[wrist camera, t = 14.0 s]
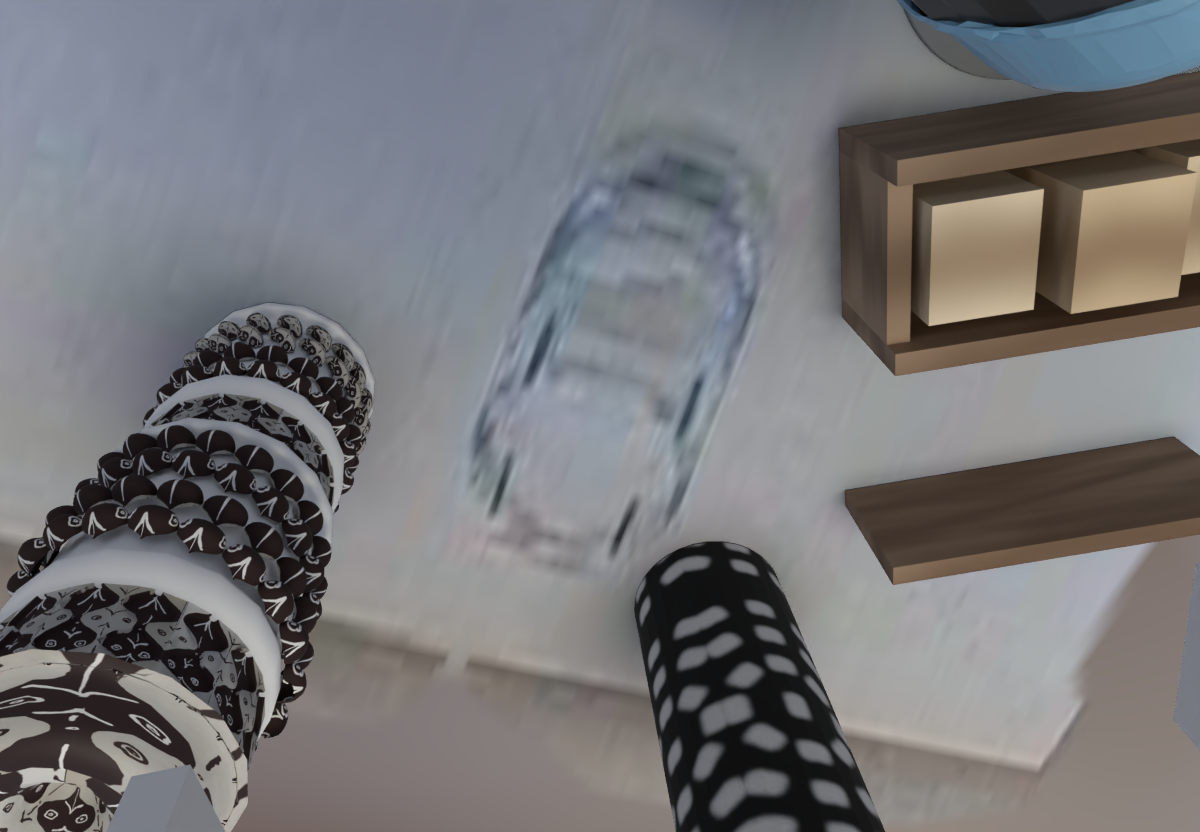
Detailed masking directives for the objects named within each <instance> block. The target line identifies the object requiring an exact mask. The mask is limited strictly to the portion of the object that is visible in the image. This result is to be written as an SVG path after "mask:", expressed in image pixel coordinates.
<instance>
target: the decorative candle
mask: <svg viewBox="0 0 1200 832" xmlns="http://www.w3.org/2000/svg"><path fill="white" fill-rule="evenodd" d="M195 348H196V350H197V351H192V352H189V353H187V354H186V355H185V357H184V363H185V364H184V366H183V368H180V369H177V370H176V371H175V372H173V373H172V375H171V377H170V383H168V384H166V385H164V386H163V387H161V388H160V389H159V390H158V392H157V400H158V402H157V407H154V408H152V409H151V410H149V411H148V412H147V413H146V415H145V417H144V420H143V425H144V428H143V430H142V431H140V432H139V433H136V434H132V435H130V436H129V437H128V438H127V439H126V441H125V442H124V445H122V446H121V447H120V448H119V449H117V450H116V451H115V452H111V453H108V454H105V455H104V456H102V457H101V458H100V459H99V460H98V463H97V468H98V479H96V478H91V479H86V480H83V481H81V482H80V483H79V484H78V485H77V487H76V490H75V497H74V501H73V506H68V505H67V506H60V507H57V508H55V509H53V510H51V511H50V512H49V513H48V515H47V517H46V527H45V529H44V532H43V537H42V538H33V539H30V540H27V541H26V542H24V543H23V544H22V546H21V548H20V549H19V552H18V563H19V566H20V568H21V569H22V570H20V571H18V572H16V573H15V574H14V575H13V576H12V577H11V578H10V579H9V581H8V584H7V589H8V592H9V594H10V596H11V598H10V599H9V601H8V602H7V603H6V605H5V606H4V607H3V608H2V610H1V611H0V832H106V831H107V829H108V826H109V824H110V822H111V820H112V818H113V816H114V813H115V811H116V809H117V807H118V805H119V802H120V800H121V798H122V796H123V794H124V791H125V789H126V787H127V785H128V783H129V781H130V778H131V776H136V775H141V774H146V773H151V772H156V771H161V770H166V769H171V768H176V767H181V766H186V765H191V767H192V769H193V771H194V772H195V774H196V776H197V778H198V780H199V782H200V784H201V786H202V788H203V790H204V792H205V793H206V795H207V797H208V799H209V801H210V803H211V805H212V807H213V809H214V811H215V813H216V815H217V816H218V818H219V820H220V822H221V824H222V826H223V828H224V830H225V832H231V830H232V829H233V827H234V825H235V824H236V822H237V821H238V819H239V817H240V815H241V814H242V812H243V811H244V809H245V808H246V806H247V804H248V799H247V798H248V794H247V793H248V791H247V772H248V769H249V765H250V762H251V759H252V756H253V753H254V750H256V749H257V746H258V739H259V738H260V736H264V738H270V737H274V736H277V735H279V734H280V733H281V732H282V730H283V729H284V727H285V725H286V723H287V720H288V710H287V707H286V705H285V704H284V703H289V702H292V701H294V700H296V699H297V698H298V697H300V696H301V695H302V694H303V692H304V690H305V688H306V676H305V673H304V671H303V669H305V668H306V667H307V666H308V665H309V663H310V662H311V660H312V658H313V655H314V650H313V647H312V645H311V643H310V642H309V637H308V633H310V632H311V630H312V629H313V628H314V626H315V624H316V621H317V620H318V619H319V617H320V616H321V614H322V606H321V602H320V599H321V598H322V597H323V595H324V594H325V592H326V590H327V586H328V584H327V580H326V579H325V577H324V567H325V566H326V565H327V564H328V563H329V561H330V558H331V549H332V530H333V514H334V513H335V512H336V511H337V510H338V508H339V498H340V495H341V494H344V493H346V492H347V491H348V490H349V489H350V488H351V487H352V485H353V482H354V478H353V475H352V473H353V472H354V471H355V470H356V468H357V467H358V464H359V460H358V458H357V456H358V455H359V454H360V453H361V452H362V450H363V449H364V447H365V444H366V437H365V436H366V435H367V433H368V432H369V429H370V421H369V418H370V416H371V415H372V412H373V401H374V384H375V380H374V377H373V374H372V372H371V369H370V367H369V364H368V361H367V359H366V356H365V354H364V351H363V349H362V348H361V347H360V346H359V345H358V344H357V343H356V342H355V341H354V340H353V339H352V337H351V336H350V335H349V334H348V333H347V332H346V331H345V330H344V329H343V328H342V327H341V326H340V325H339V324H338V323H336V322H334V321H332V320H330V319H328V318H326V317H324V316H322V315H320V314H318V313H316V312H314V311H312V310H310V309H308V308H306V307H301V306H293V305H284V304H276V303H264V304H260V305H257V306H253V307H249V308H245V309H241V310H237V311H233V312H232V313H231V314H230V315H228V316H227V317H226V318H225V319H223V320H222V321H221V322H219V323H218V324H217V325H216V326H214V327H213V328H212V329H211V330H209V331H208V332H207V333H206V334H205V337H204V338H202V339H200V340H198V341H197V342H196V344H195ZM69 538H70V539H69ZM68 539H69V540H68ZM67 540H68V542H67V543H66V544H65V546H64V547H63V548H62V550H61V551H60V552H59V549H60V547H61V545H62V544H63V543H65V542H66V541H67ZM40 565H42V566H43V567H44V569H43V570H42V571H41V572H40V570H39V567H40ZM302 593H303V596H302V597H300V595H301V594H302ZM281 659H284V663H285V664H286V665H285V668H284V670H283V671H282V672H281Z"/></svg>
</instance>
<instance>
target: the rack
mask: <svg viewBox="0 0 1200 832" xmlns="http://www.w3.org/2000/svg"><path fill="white" fill-rule="evenodd" d="M1196 139H1200V71H1199V72H1193V73H1187V74H1180V75H1174V76H1168V77H1164V78H1161V79H1158V80H1155V81H1151V82H1147V83H1143V84H1139V85H1134V86H1129V87H1124V88H1118V89H1111V90H1102V91H1090V92H1066V93H1060V94H1054V95H1047V96H1041V97H1035V98H1028V99H1022V100H1016V101H1009V102H1003V103H997V104H990V105H984V106H978V107H971V108H965V109H959V110H952V111H946V112H940V113H933V114H927V115H921V116H914V117H908V118H902V119H895V120H889V121H883V122H876V123H870V124H864V125H857V126H851V127H845V128H839V163H840V218H841V274H842V317H843V319H844V320H845V321H846V322H847V323H848V324H849V325H850V326H851V327H852V329H853V330H854V331H855V332H856V333H857V334H858V335H859V336H860V337H861V339H862V340H863V341H864V342H865V343H866V344H867V345H868V346H869V347H870V349H871V350H872V351H873V352H874V353H875V354H876V355H877V356H878V357H879V359H880V360H881V361H882V362H883V363H884V364H885V365H886V366H887V367H888V369H889V370H890V371H891V372H892V373H893V374H894V375H895V376H899V375H905V374H911V373H918V372H924V371H930V370H936V369H942V368H948V367H955V366H961V365H967V364H973V363H979V362H986V361H992V360H998V359H1004V358H1010V357H1016V356H1023V355H1029V354H1035V353H1041V352H1047V351H1053V350H1060V349H1066V348H1072V347H1078V346H1084V345H1091V344H1097V343H1103V342H1109V341H1115V340H1121V339H1128V338H1134V337H1140V336H1146V335H1152V334H1158V333H1165V332H1171V331H1177V330H1183V329H1189V328H1196V327H1200V272H1198V273H1191V274H1185V275H1181V280H1180V287H1179V293H1178V297H1173V298H1167V299H1161V300H1154V301H1148V302H1142V303H1136V304H1130V305H1123V306H1117V307H1111V308H1105V309H1099V310H1092V311H1086V312H1080V313H1074V314H1070V313H1069V312H1067V311H1065V310H1064V309H1062V308H1061V307H1059V306H1058V305H1056V304H1055V303H1053V302H1052V301H1050V300H1049V299H1047V298H1045V297H1044V296H1042V295H1041V294H1039V293H1038V292H1036V291H1035V299H1034V310H1027V311H1021V312H1015V313H1008V314H1002V315H996V316H989V317H983V318H977V319H970V320H964V321H958V322H952V323H945V324H939V325H933V326H928V325H927V324H926V323H925V322H923V321H922V320H921V319H920V318H919V317H918V316H917V315H916V314H915V313H914V312H912V311H911V258H912V202H913V184H919V183H925V182H931V181H938V180H944V179H950V178H956V177H963V176H969V175H975V174H982V173H988V172H994V171H1000V170H1007V169H1013V168H1019V167H1026V166H1032V165H1038V164H1045V163H1051V162H1057V161H1063V160H1070V159H1076V158H1082V157H1089V156H1095V155H1101V154H1107V153H1114V152H1120V151H1126V150H1133V149H1139V148H1145V147H1151V146H1158V145H1164V144H1170V143H1177V142H1183V141H1189V140H1196ZM845 496H846V507H847V509H848V511H849V512H850V514H851V516H852V517H853V519H854V521H855V522H856V524H857V526H858V527H859V529H860V531H861V532H862V534H863V536H864V537H865V539H866V541H867V542H868V544H869V546H870V547H871V549H872V551H873V552H874V554H875V556H876V557H877V559H878V561H879V562H880V564H881V566H882V567H883V569H884V571H885V572H886V574H887V576H888V577H889V579H890V581H891V582H892V584H893V585H896V584H902V583H908V582H914V581H920V580H926V579H933V578H939V577H945V576H951V575H957V574H963V573H969V572H975V571H981V570H987V569H993V568H999V567H1005V566H1011V565H1017V564H1023V563H1029V562H1035V561H1041V560H1048V559H1054V558H1060V557H1066V556H1072V555H1078V554H1084V553H1090V552H1096V551H1102V550H1108V549H1114V548H1120V547H1126V546H1132V545H1138V544H1144V543H1150V542H1157V541H1162V540H1169V539H1175V538H1181V537H1186V536H1193V535H1199V534H1200V455H1198V454H1197V453H1196V452H1194V451H1193V450H1191V449H1190V448H1189V447H1187V446H1186V445H1185V444H1183V443H1182V442H1181V441H1179V440H1178V439H1176V438H1175V437H1169V438H1163V439H1157V440H1151V441H1145V442H1139V443H1132V444H1126V445H1120V446H1114V447H1108V448H1102V449H1096V450H1090V451H1084V452H1077V453H1071V454H1065V455H1059V456H1053V457H1047V458H1041V459H1035V460H1028V461H1022V462H1016V463H1010V464H1004V465H998V466H992V467H986V468H980V469H973V470H967V471H961V472H955V473H949V474H943V475H937V476H931V477H925V478H918V479H912V480H906V481H900V482H894V483H888V484H882V485H876V486H870V487H863V488H857V489H851V490H845Z"/></svg>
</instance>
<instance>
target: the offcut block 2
mask: <svg viewBox="0 0 1200 832" xmlns="http://www.w3.org/2000/svg"><path fill="white" fill-rule="evenodd" d="M1003 171H1005V172H1007V173H1010V174H1012V175H1014V176H1016V177H1019V178H1021V179H1023V180H1025V181H1027V182H1030V183H1032V184H1034V185H1036V186H1039V187H1041V188H1043V189H1044V195H1043V207H1042V218H1041V230H1040V242H1039V253H1038V265H1037V276H1036V288H1035V291H1036V292H1038V293H1039V294H1041V295H1042V296H1044V297H1045V298H1047V299H1049V300H1050V301H1052V302H1053V303H1055V304H1056V305H1058V306H1059V307H1061V308H1062V309H1064V310H1065V311H1067V312H1069V313H1070V314H1074V313H1080V312H1086V311H1092V310H1099V309H1105V308H1111V307H1117V306H1123V305H1130V304H1136V303H1142V302H1148V301H1154V300H1161V299H1167V298H1173V297H1178V293H1179V287H1180V280H1181V274H1182V268H1183V261H1184V255H1185V249H1186V242H1187V236H1188V230H1189V223H1190V217H1191V211H1192V204H1193V198H1194V192H1195V185H1196V179H1197V172H1194V171H1191V170H1188V169H1185V168H1182V167H1179V166H1176V165H1173V164H1170V163H1167V162H1164V161H1161V160H1157V159H1154V158H1151V157H1148V156H1145V155H1142V154H1139V153H1136V152H1133V151H1130V150H1126V151H1120V152H1114V153H1107V154H1101V155H1095V156H1089V157H1082V158H1076V159H1070V160H1063V161H1057V162H1051V163H1045V164H1038V165H1032V166H1026V167H1019V168H1013V169H1007V170H1003Z"/></svg>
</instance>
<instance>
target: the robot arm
mask: <svg viewBox="0 0 1200 832" xmlns="http://www.w3.org/2000/svg"><path fill="white" fill-rule="evenodd" d="M897 1H898V2H899V3H900V5H901V6H902V7H903V8H904V9H905V10H906V11H907V12H909V13H910V14H911V15H912V16H913V17H915V18H916V19H918V20H919V21H923V22H926V23H928V24H929V25H930V26H932V27H933V28H934V29H936V30H938V31H941V32H945V33H948V34H949V35H950V36H952V37H953V38H954V39H955V40H957V41H958V42H959V43H960V44H961V45H963V46H964V47H965V48H966V49H968V50H969V51H970V52H971V53H972V54H974V55H975V56H976V57H977V58H979V59H980V60H981V61H982V62H983V63H985V64H986V65H987V66H989V67H990V68H992V69H993V70H994V71H996V72H997V73H999V74H1001V75H1003V76H1005V77H1006V78H1010V79H1012V80H1015V81H1017V82H1020V83H1023V84H1026V85H1028V86H1031V87H1034V88H1039V89H1044V90H1050V91H1061V92H1090V91H1102V90H1111V89H1118V88H1124V87H1129V86H1134V85H1139V84H1143V83H1147V82H1151V81H1155V80H1158V79H1161V78H1164V77H1168V76H1171V75H1174V74H1177V73H1181V72H1184V71H1187V70H1190V69H1193V68H1196V67H1198V66H1200V0H897ZM1173 720H1174V722H1175V723H1176V724H1177V725H1178V726H1179V727H1180V728H1181V729H1182V731H1183V732H1184V733H1185V734H1186V735H1187V736H1188V737H1189V738H1190V740H1191V741H1192V742H1193V743H1194V744H1195V745H1196V747H1198V749H1199V750H1200V563H1196V566H1195V572H1194V579H1193V587H1192V593H1191V600H1190V607H1189V615H1188V621H1187V628H1186V635H1185V641H1184V649H1183V655H1182V663H1181V669H1180V677H1179V683H1178V690H1177V697H1176V705H1175V711H1174V718H1173ZM106 832H225V830H224V828H223V826H222V824H221V822H220V820H219V818H218V816H217V815H216V813H215V811H214V809H213V807H212V805H211V803H210V801H209V799H208V797H207V795H206V793H205V792H204V790H203V788H202V786H201V784H200V782H199V780H198V778H197V776H196V774H195V772H194V771H193V769H192V767H191V765H186V766H181V767H176V768H171V769H166V770H161V771H156V772H151V773H146V774H141V775H136V776H131V778H130V781H129V783H128V785H127V787H126V789H125V791H124V794H123V796H122V798H121V800H120V802H119V805H118V807H117V809H116V811H115V813H114V816H113V818H112V820H111V822H110V824H109V826H108V829H107V831H106Z"/></svg>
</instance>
